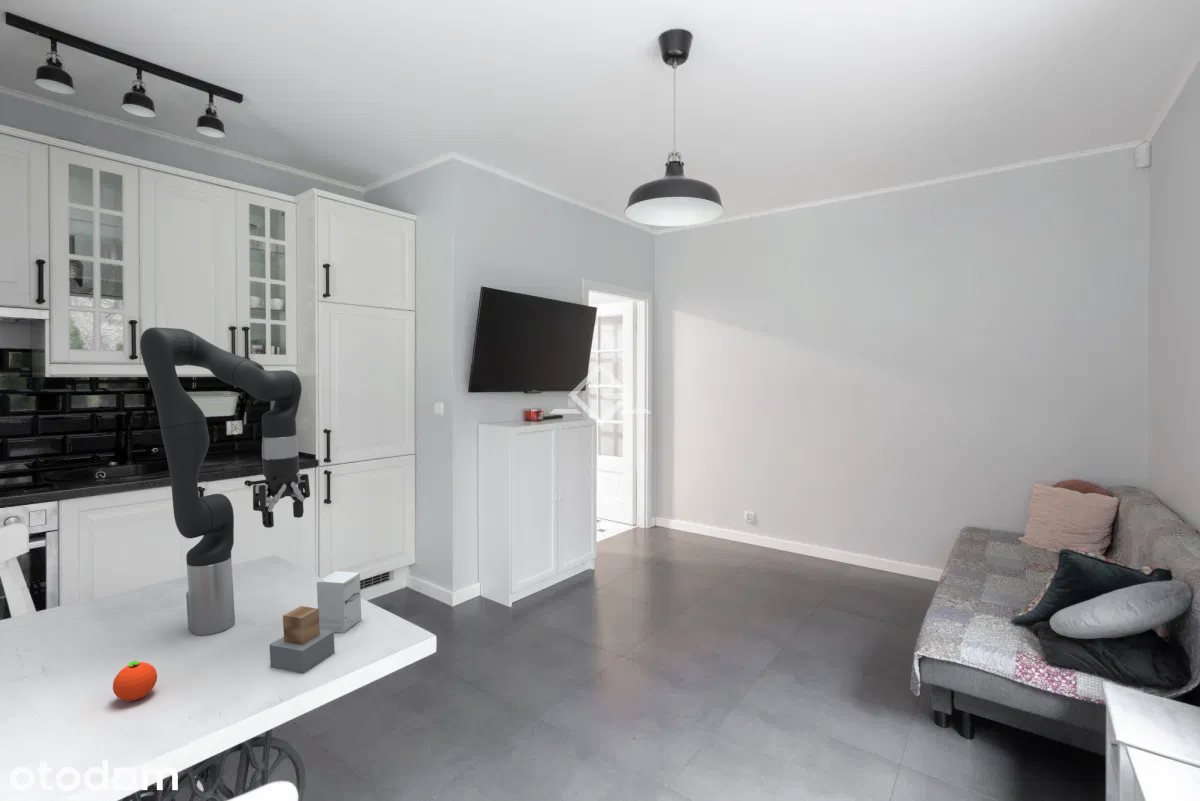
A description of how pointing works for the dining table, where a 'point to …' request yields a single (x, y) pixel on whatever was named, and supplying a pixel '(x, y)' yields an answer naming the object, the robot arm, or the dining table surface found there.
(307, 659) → the base
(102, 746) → the dining table surface
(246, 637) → the dining table surface
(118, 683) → the clementine
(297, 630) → the walnut block
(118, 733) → the dining table surface
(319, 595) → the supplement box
